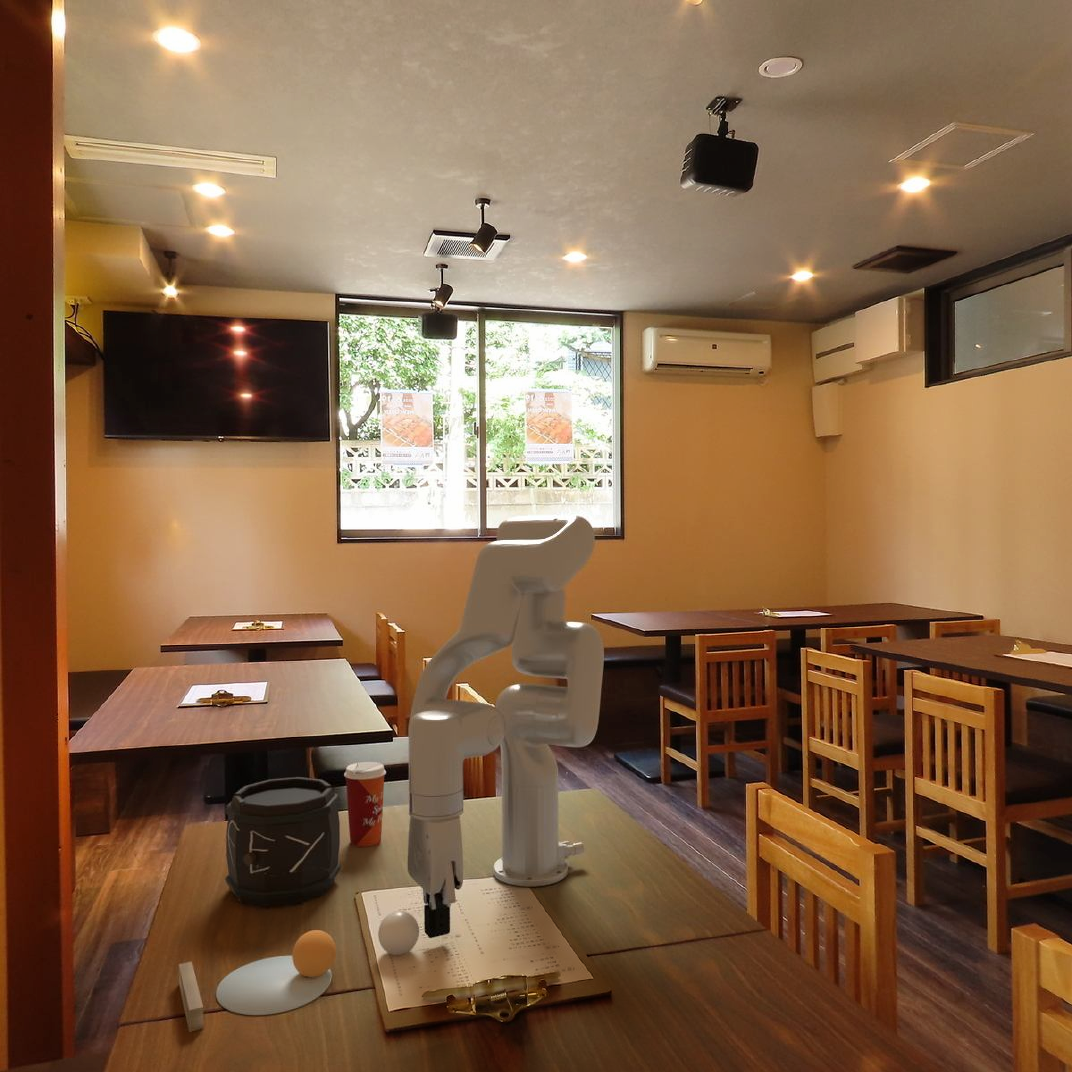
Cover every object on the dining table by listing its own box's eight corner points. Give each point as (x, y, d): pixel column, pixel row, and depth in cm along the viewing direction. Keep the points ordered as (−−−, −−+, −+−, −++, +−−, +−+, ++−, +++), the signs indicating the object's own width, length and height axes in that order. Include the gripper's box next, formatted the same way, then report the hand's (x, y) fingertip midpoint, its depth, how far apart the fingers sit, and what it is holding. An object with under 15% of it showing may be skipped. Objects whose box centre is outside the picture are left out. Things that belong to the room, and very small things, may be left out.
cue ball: (379, 903, 118) (369, 944, 117) (390, 918, 113) (380, 961, 112) (416, 906, 120) (406, 946, 120) (428, 920, 115) (419, 963, 115)
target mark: (317, 948, 118) (317, 946, 118) (344, 996, 106) (344, 994, 106) (209, 973, 111) (209, 971, 111) (225, 1027, 99) (225, 1025, 99)
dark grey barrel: (198, 903, 133) (197, 802, 133) (271, 861, 150) (270, 771, 150) (295, 920, 127) (294, 814, 127) (360, 874, 144) (359, 781, 144)
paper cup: (377, 850, 154) (376, 773, 154) (337, 847, 156) (337, 771, 156) (393, 835, 162) (392, 761, 162) (355, 832, 164) (354, 759, 164)
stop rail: (191, 981, 109) (191, 961, 109) (203, 1028, 99) (203, 1006, 99) (179, 984, 109) (178, 964, 109) (189, 1032, 98) (189, 1010, 98)
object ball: (314, 914, 114) (279, 945, 111) (324, 931, 109) (288, 964, 107) (337, 943, 115) (304, 974, 113) (349, 960, 110) (314, 994, 108)
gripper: (393, 791, 124) (394, 918, 124) (430, 822, 110) (431, 963, 110) (441, 784, 127) (442, 907, 127) (483, 812, 114) (484, 950, 114)
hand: (437, 933), depth 119 cm, fingers closed
